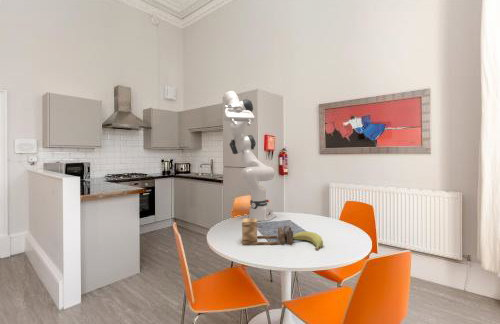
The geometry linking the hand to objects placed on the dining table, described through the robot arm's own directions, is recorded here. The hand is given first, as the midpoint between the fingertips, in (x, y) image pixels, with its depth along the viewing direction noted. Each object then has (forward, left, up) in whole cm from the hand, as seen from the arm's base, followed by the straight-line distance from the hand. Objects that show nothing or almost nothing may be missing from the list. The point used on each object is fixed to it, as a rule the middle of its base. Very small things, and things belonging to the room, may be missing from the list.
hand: (242, 125), depth 162 cm
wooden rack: (+6, +22, -66) cm, 70 cm away
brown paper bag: (+12, +15, -66) cm, 69 cm away
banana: (-5, +42, -67) cm, 79 cm away
